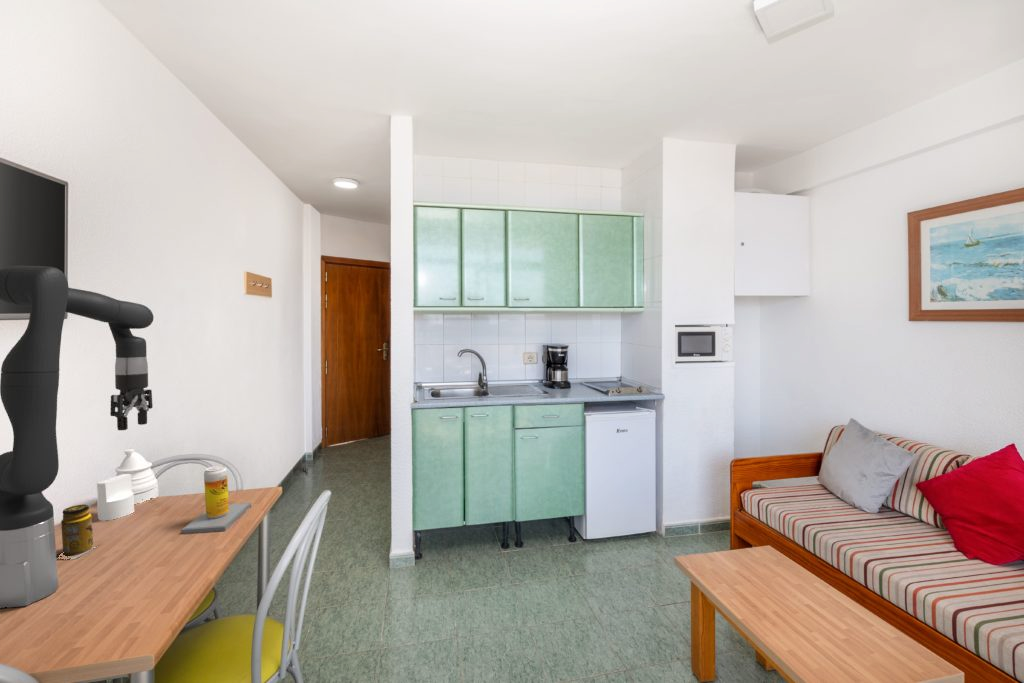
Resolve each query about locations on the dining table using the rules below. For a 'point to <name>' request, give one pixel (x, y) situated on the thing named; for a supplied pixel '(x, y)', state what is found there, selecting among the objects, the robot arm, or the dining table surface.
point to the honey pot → (139, 476)
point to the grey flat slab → (216, 520)
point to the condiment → (76, 531)
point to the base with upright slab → (115, 497)
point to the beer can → (216, 491)
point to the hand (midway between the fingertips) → (132, 427)
